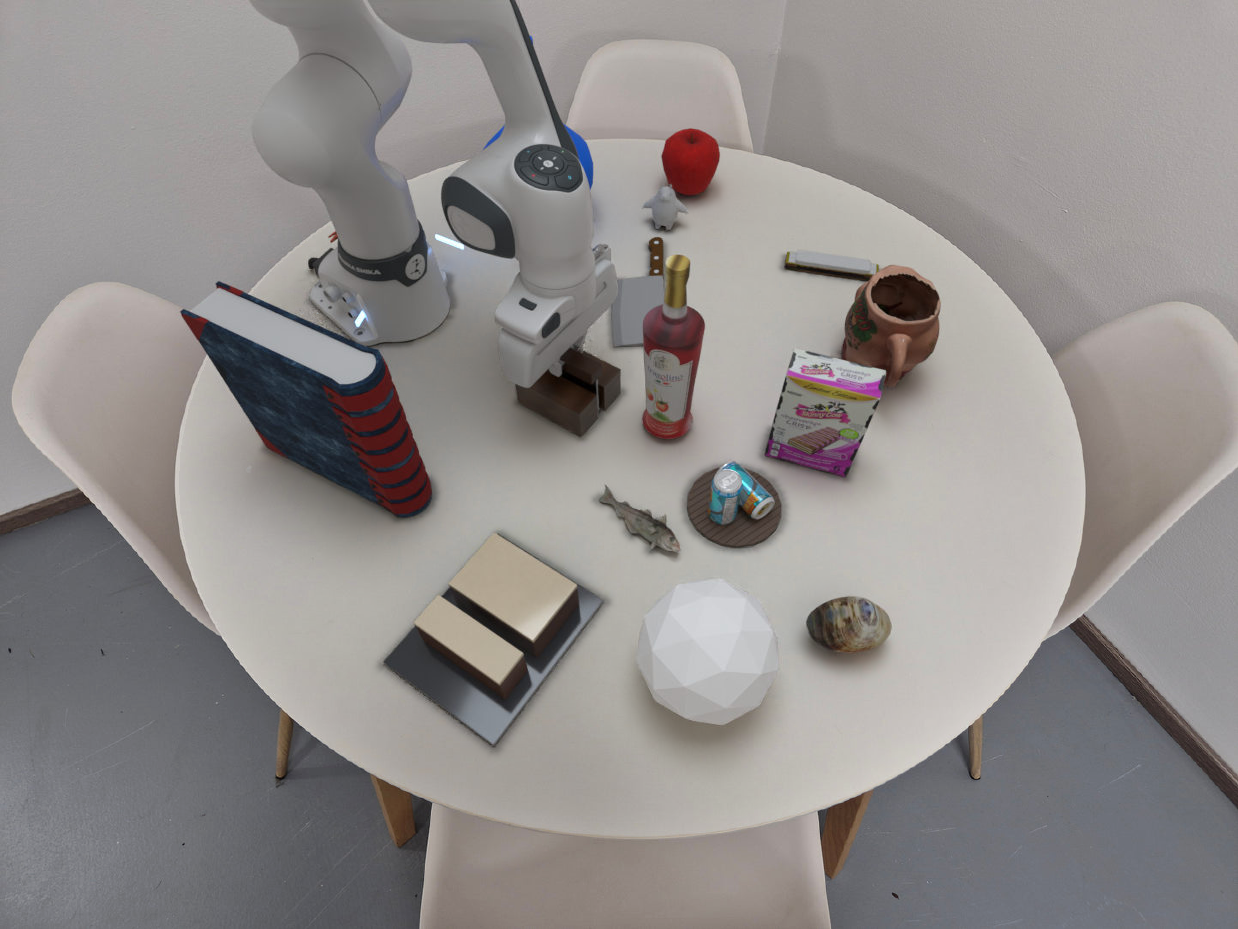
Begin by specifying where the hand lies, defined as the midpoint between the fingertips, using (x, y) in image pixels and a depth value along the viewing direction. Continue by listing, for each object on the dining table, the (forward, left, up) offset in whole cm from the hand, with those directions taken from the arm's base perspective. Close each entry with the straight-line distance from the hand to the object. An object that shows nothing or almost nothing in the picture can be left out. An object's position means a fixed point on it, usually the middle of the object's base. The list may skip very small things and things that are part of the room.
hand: (566, 363), depth 102 cm
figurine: (-10, +41, -7) cm, 43 cm away
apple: (-11, +51, -7) cm, 52 cm away
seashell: (+47, -11, -7) cm, 49 cm away
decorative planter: (+34, +29, -7) cm, 45 cm away
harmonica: (+19, +45, -7) cm, 50 cm away
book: (-16, -26, -7) cm, 32 cm away
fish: (+20, -11, -7) cm, 24 cm away
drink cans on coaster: (+28, -3, -7) cm, 29 cm away
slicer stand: (0, 0, -7) cm, 7 cm away
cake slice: (+14, -37, -6) cm, 40 cm away
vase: (-28, +30, -7) cm, 42 cm away
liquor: (+14, +4, -7) cm, 16 cm away
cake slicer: (0, 0, -7) cm, 7 cm away
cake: (+14, -33, -7) cm, 37 cm away
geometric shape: (+36, -24, -7) cm, 44 cm away
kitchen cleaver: (-3, +24, -7) cm, 25 cm away
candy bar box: (+32, +10, -7) cm, 35 cm away
